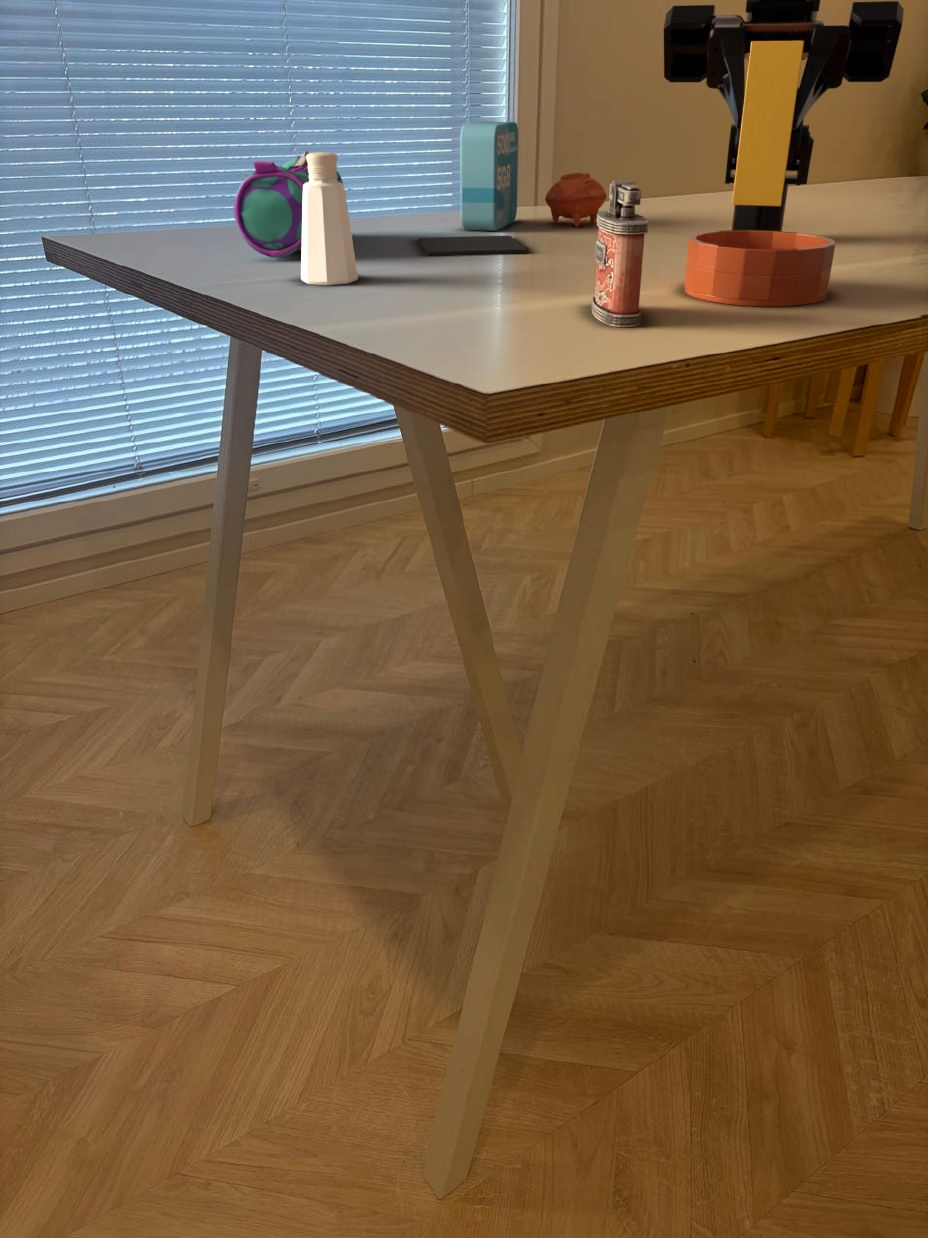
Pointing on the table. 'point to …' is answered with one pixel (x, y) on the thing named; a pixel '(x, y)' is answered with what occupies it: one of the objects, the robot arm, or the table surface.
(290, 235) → the pencil case
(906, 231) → the table surface
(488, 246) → the mat
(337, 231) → the pepper shaker
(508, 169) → the data package
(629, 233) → the lighter
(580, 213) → the pot
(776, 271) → the bowl
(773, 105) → the block
